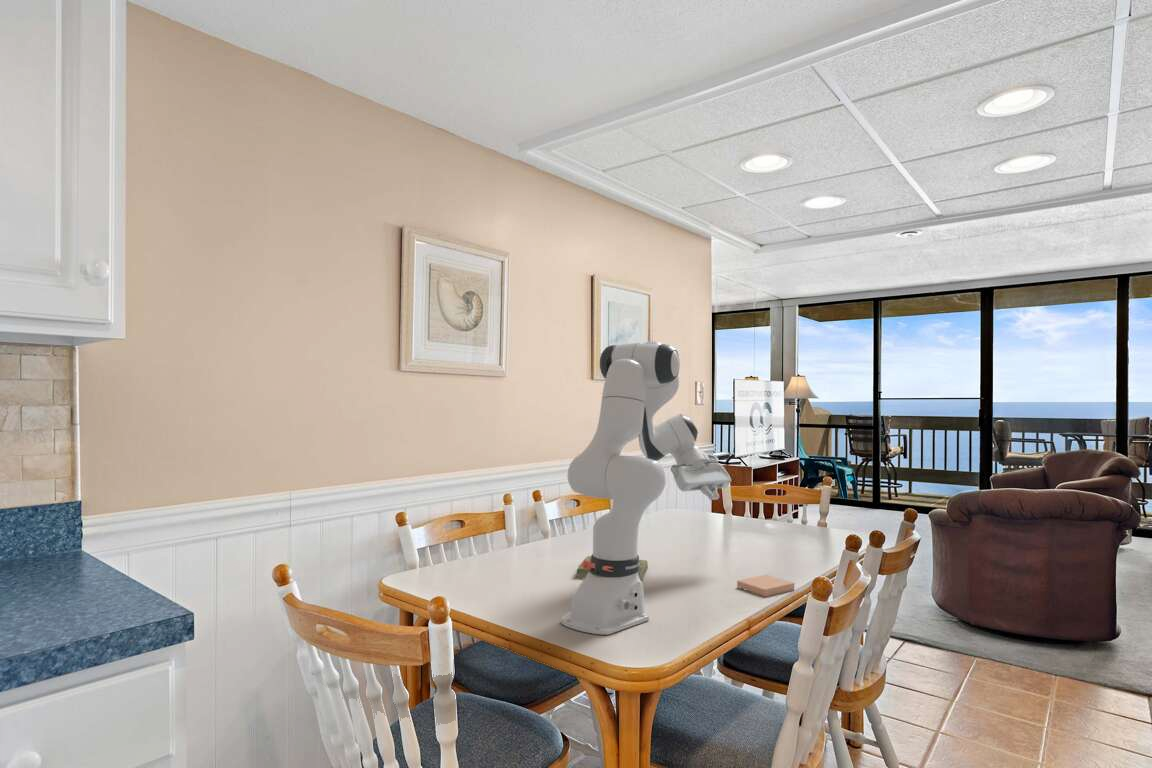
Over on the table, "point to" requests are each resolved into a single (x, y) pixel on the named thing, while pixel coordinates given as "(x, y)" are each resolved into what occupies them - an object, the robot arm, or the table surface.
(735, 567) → the table surface
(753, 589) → the glazed tile
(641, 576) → the decorative tile
